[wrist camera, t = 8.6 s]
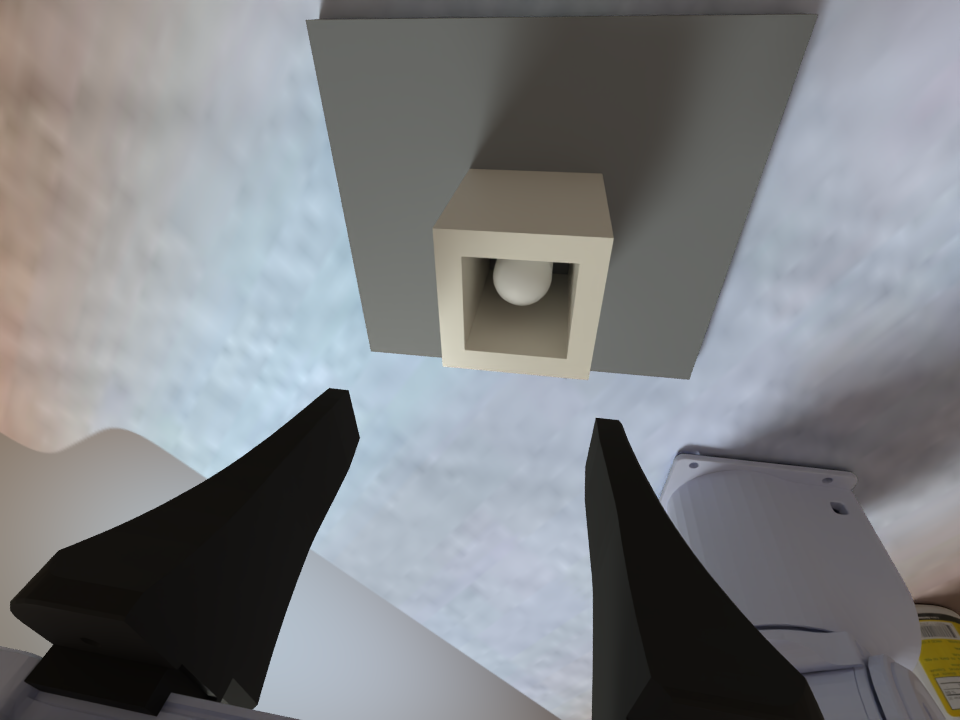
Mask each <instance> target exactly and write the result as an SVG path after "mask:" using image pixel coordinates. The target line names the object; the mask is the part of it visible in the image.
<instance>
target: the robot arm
mask: <svg viewBox="0 0 960 720" xmlns="http://www.w3.org/2000/svg"><path fill="white" fill-rule="evenodd" d="M359 439H360V437H359V432H358V428H357V424H356V420H355V415H354V411H353V407H352V403H351V399H350V394H349V390H341V389H332V388H329V389H328V390H326V391H325V392H324V393H323V394H321V395H320V396H319V397H318V398H316V399H315V400H314V401H313V402H312V403H310V404H309V405H308V406H307V407H306V408H304V409H303V410H302V411H301V412H300V413H298V414H297V415H296V416H295V417H293V418H292V419H291V420H290V421H289V422H287V423H286V424H285V425H284V426H282V427H281V428H280V429H278V430H277V431H276V432H275V433H273V434H272V435H271V436H270V437H268V438H267V439H266V440H264V441H263V442H261V443H260V444H259V445H257V446H256V447H255V448H253V449H252V450H251V451H249V452H248V453H246V454H245V455H244V456H242V457H241V458H240V459H238V460H237V461H235V462H234V463H232V464H231V465H229V466H228V467H226V468H225V469H223V470H222V471H220V472H218V473H217V474H215V475H214V476H212V477H210V478H209V479H207V480H205V481H204V482H202V483H200V484H199V485H197V486H195V487H193V488H192V489H190V490H188V491H186V492H184V493H182V494H181V495H179V496H177V497H175V498H173V499H172V500H170V501H168V502H166V503H164V504H163V505H160V506H159V507H157V508H155V509H153V510H150V511H148V512H146V513H144V514H142V515H140V516H139V517H136V518H134V519H132V520H130V521H128V522H125V523H123V524H121V525H119V526H117V527H114V528H112V529H110V530H108V531H105V532H103V533H101V534H98V535H96V536H93V537H91V538H88V539H86V540H83V541H81V542H79V543H76V544H74V545H71V546H69V547H66V548H64V549H61V550H59V551H58V552H57V553H56V554H55V555H54V556H53V557H52V558H51V559H50V560H49V561H48V562H47V564H45V566H44V567H43V568H42V569H41V570H40V571H39V572H38V573H37V574H36V575H35V576H34V577H33V578H32V579H31V580H30V581H29V582H28V584H27V585H26V586H25V587H24V588H23V589H22V590H21V591H20V592H19V593H18V594H17V595H16V596H15V597H14V598H13V599H12V600H11V602H10V611H11V612H12V613H13V615H14V616H15V617H16V618H17V619H19V620H20V621H21V622H22V623H24V624H25V625H27V626H28V627H30V628H31V629H32V630H34V631H35V632H36V633H38V634H39V635H41V636H42V637H44V638H45V639H46V640H48V641H49V642H51V643H52V644H54V645H53V646H52V647H51V648H50V649H49V651H48V652H47V653H46V655H45V656H44V657H43V658H42V657H40V656H38V655H35V654H33V653H29V652H26V651H21V650H16V649H11V648H7V647H1V646H0V720H299V719H294V718H290V717H284V716H280V715H275V714H270V713H265V712H261V711H256V710H252V709H254V708H255V707H256V706H257V705H258V702H259V697H260V694H261V690H262V687H263V684H264V680H265V677H266V674H267V670H268V667H269V664H270V660H271V657H272V654H273V650H274V647H275V644H276V641H277V638H278V635H279V632H280V629H281V626H282V623H283V620H284V617H285V614H286V611H287V608H288V605H289V602H290V600H291V597H292V594H293V591H294V588H295V586H296V583H297V580H298V577H299V575H300V572H301V570H302V567H303V565H304V562H305V559H306V557H307V554H308V551H309V549H310V547H311V545H312V542H313V540H314V538H315V536H316V534H317V532H318V530H319V528H320V526H321V524H322V522H323V520H324V518H325V516H326V514H327V512H328V510H329V508H330V506H331V504H332V502H333V500H334V498H335V496H336V494H337V492H338V490H339V488H340V486H341V484H342V482H343V480H344V478H345V476H346V474H347V472H348V470H349V468H350V465H351V462H352V459H353V457H354V454H355V451H356V448H357V445H358V442H359ZM694 462H695V463H694ZM857 482H858V479H857V477H856V476H855V474H854V473H852V472H846V471H837V470H828V469H819V468H810V467H801V466H792V465H782V464H773V463H764V462H755V461H746V460H737V459H728V458H718V457H709V456H700V455H691V454H680V455H678V456H676V457H675V459H674V461H673V464H672V466H671V469H670V472H669V474H668V477H667V480H666V482H665V485H664V487H663V490H662V493H661V495H660V498H659V500H658V498H657V496H656V494H655V493H654V491H653V489H652V487H651V485H650V484H649V482H648V480H647V478H646V476H645V474H644V472H643V470H642V469H641V467H640V465H639V463H638V460H637V458H636V456H635V454H634V452H633V450H632V448H631V445H630V443H629V441H628V438H627V436H626V434H625V431H624V428H623V426H622V424H621V422H620V421H619V420H612V419H603V418H596V420H595V424H594V429H593V434H592V438H591V443H590V447H589V452H588V457H587V461H586V466H585V507H586V518H587V529H588V540H589V550H590V561H591V571H592V585H593V683H592V720H946V718H945V717H944V715H943V713H942V712H941V710H940V709H939V707H938V705H937V704H936V702H935V701H934V699H933V698H932V696H931V695H930V693H929V692H928V690H927V689H926V688H925V686H924V685H923V684H922V682H921V681H920V680H919V678H918V677H917V676H916V675H915V674H914V673H913V672H912V671H913V670H914V668H915V666H916V664H917V662H918V660H919V656H920V652H921V630H920V624H919V618H918V614H917V611H916V607H915V604H914V602H913V599H912V597H911V594H910V592H909V590H908V588H907V586H906V584H905V582H904V581H903V579H902V577H901V575H900V574H899V572H898V570H897V568H896V567H895V565H894V563H893V562H892V560H891V558H890V556H889V555H888V553H887V551H886V549H885V548H884V546H883V544H882V542H881V541H880V539H879V537H878V535H877V534H876V532H875V530H874V528H873V527H872V525H871V523H870V521H869V520H868V518H867V516H866V515H865V513H864V511H863V509H862V508H861V506H860V504H859V502H858V501H857V499H856V497H855V495H854V494H853V492H852V489H853V488H854V486H855V485H856V484H857Z"/></svg>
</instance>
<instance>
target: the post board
mask: <svg viewBox="0 0 960 720" xmlns="http://www.w3.org/2000/svg"><path fill="white" fill-rule="evenodd" d="M817 16H818V14H743V15H653V16H564V17H475V18H385V19H314V20H306V24H307V29H308V35H309V40H310V45H311V50H312V55H313V60H314V65H315V70H316V75H317V80H318V85H319V90H320V95H321V100H322V105H323V111H324V116H325V121H326V126H327V131H328V136H329V141H330V146H331V151H332V156H333V161H334V166H335V171H336V176H337V181H338V187H339V192H340V197H341V202H342V207H343V212H344V217H345V222H346V227H347V232H348V237H349V242H350V247H351V252H352V258H353V263H354V268H355V273H356V278H357V283H358V288H359V293H360V298H361V303H362V308H363V313H364V318H365V323H366V328H367V334H368V339H369V344H370V349H371V351H373V352H384V353H396V354H407V355H418V356H429V357H441V358H442V349H441V336H440V322H439V309H438V296H437V282H436V269H435V256H434V242H433V229H432V228H433V227H434V225H435V223H436V222H437V220H438V219H439V217H440V215H441V214H442V212H443V211H444V209H445V207H446V206H447V204H448V203H449V201H450V199H451V198H452V196H453V195H454V193H455V191H456V190H457V188H458V187H459V185H460V183H461V182H462V180H463V179H464V177H465V175H466V174H467V172H468V171H469V169H491V170H518V171H546V172H573V173H601V174H602V175H603V180H604V186H605V192H606V197H607V203H608V208H609V214H610V220H611V225H612V231H613V237H614V240H613V245H612V251H611V256H610V262H609V268H608V273H607V279H606V284H605V290H604V295H603V301H602V306H601V312H600V318H599V323H598V329H597V334H596V340H595V345H594V351H593V357H592V362H591V368H590V371H598V372H609V373H621V374H632V375H643V376H654V377H666V378H677V379H688V380H689V379H690V376H691V373H692V370H693V367H694V365H695V362H696V359H697V356H698V353H699V350H700V348H701V345H702V342H703V339H704V336H705V333H706V331H707V328H708V325H709V322H710V319H711V316H712V314H713V311H714V308H715V305H716V302H717V299H718V297H719V294H720V291H721V288H722V285H723V282H724V280H725V277H726V274H727V271H728V268H729V265H730V263H731V260H732V257H733V254H734V251H735V248H736V246H737V243H738V240H739V237H740V234H741V231H742V229H743V226H744V223H745V220H746V217H747V215H748V212H749V209H750V206H751V203H752V200H753V198H754V195H755V192H756V189H757V186H758V183H759V181H760V178H761V175H762V172H763V169H764V166H765V164H766V161H767V158H768V155H769V152H770V149H771V147H772V144H773V141H774V138H775V135H776V132H777V130H778V127H779V124H780V121H781V118H782V115H783V113H784V110H785V107H786V104H787V101H788V98H789V96H790V93H791V90H792V87H793V84H794V81H795V79H796V76H797V73H798V70H799V67H800V64H801V62H802V59H803V56H804V53H805V50H806V47H807V45H808V42H809V39H810V36H811V33H812V30H813V28H814V25H815V22H816V19H817ZM490 269H491V270H494V272H493V281H494V285H495V288H496V290H497V292H498V294H499V295H500V296H501V297H502V298H503V299H504V300H505V301H507V302H509V303H511V304H513V305H518V306H527V305H531V304H533V303H535V302H537V301H539V300H540V299H541V298H543V297H544V295H545V294H546V293H547V291H548V290H549V288H550V285H551V281H552V274H568V271H569V263H561V262H545V261H528V260H512V259H496V258H490Z"/></svg>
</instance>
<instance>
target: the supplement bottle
mask: <svg viewBox="0 0 960 720" xmlns="http://www.w3.org/2000/svg"><path fill="white" fill-rule="evenodd" d="M915 607H916V611H917V614H918V618H919V624H920V630H921V652H920V656H919V660H918V662H917V664H916V666H915V668H914V670H913V671H912V672H913V673H914V674H915V675H916V676H917V677H918V678H919V680H920V681H921V682H922V684H923V685H924V686H925V688H926V689H927V690H928V692H929V693H930V695H931V696H932V698H933V699H934V701H935V702H936V704H937V705H938V707H939V709H940V710H941V712H942V713H943V715H944V717H945V718H946V720H960V616H959V615H958V614H957V613H955V612H954V611H952V610H949V609H947V608H944V607H940V606H934V605H923V604H917V605H915Z"/></svg>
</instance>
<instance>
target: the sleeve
mask: <svg viewBox="0 0 960 720" xmlns="http://www.w3.org/2000/svg"><path fill="white" fill-rule="evenodd" d="M432 229H433V242H434V256H435V269H436V282H437V296H438V309H439V322H440V336H441V349H442V362H443V366H444V367H454V368H465V369H476V370H486V371H497V372H507V373H518V374H529V375H539V376H550V377H561V378H571V379H582V380H588V379H589V373H590V368H591V362H592V357H593V351H594V345H595V340H596V334H597V329H598V323H599V318H600V312H601V306H602V301H603V295H604V290H605V284H606V279H607V273H608V268H609V262H610V256H611V251H612V245H613V240H614V237H613V231H612V225H611V220H610V214H609V208H608V203H607V197H606V192H605V186H604V180H603V175H602V174H601V173H573V172H546V171H518V170H491V169H469V171H468V172H467V174H466V175H465V177H464V179H463V180H462V182H461V183H460V185H459V187H458V188H457V190H456V191H455V193H454V195H453V196H452V198H451V199H450V201H449V203H448V204H447V206H446V207H445V209H444V211H443V212H442V214H441V215H440V217H439V219H438V220H437V222H436V223H435V225H434V227H433V228H432ZM490 258H496V259H512V260H528V261H545V262H561V263H569V271H568V274H552V281H551V285H550V288H549V290H548V291H547V293H546V294H545V295H544V297H543V298H541V299H540V300H539V301H537V302H535V303H533V304H531V305H527V306H518V305H513V304H511V303H509V302H507V301H505V300H504V299H503V298H502V297H501V296H500V295H499V294H498V292H497V290H496V288H495V285H494V281H493V272H494V270H491V269H490Z"/></svg>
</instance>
